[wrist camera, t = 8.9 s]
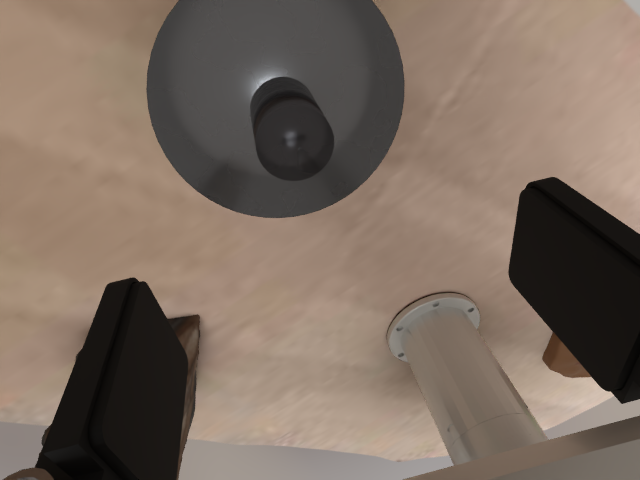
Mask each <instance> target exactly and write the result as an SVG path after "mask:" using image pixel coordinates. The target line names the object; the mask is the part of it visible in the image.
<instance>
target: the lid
mask: <svg viewBox="0 0 640 480" xmlns="http://www.w3.org/2000/svg"><path fill="white" fill-rule="evenodd" d="M147 100H148V109H149V114H150V118H151V123H152V126H153V129H154V132H155V134H156V137H157V140H158V142H159V144H160V146H161V148H162V150H163V152H164V153H165V155H166V157H167V158H168V160H169V161H170V163H171V164H172V166H173V167H174V168H175V170H176V171H177V172H178V173H179V174H180V175H181V176H182V177H183V179H184V180H185V181H186V182H187V183H188V184H190V185H191V186H192V187H193V188H194V189H195V190H197V191H198V192H199V193H201V194H202V195H204V196H205V197H207V198H208V199H209V200H211V201H213V202H215V203H217V204H219V205H221V206H223V207H225V208H228V209H230V210H233V211H236V212H239V213H243V214H247V215H251V216H257V217H265V218H285V217H295V216H300V215H305V214H309V213H312V212H315V211H318V210H321V209H323V208H326V207H328V206H330V205H333V204H334V203H336V202H338V201H340V200H341V199H343V198H345V197H346V196H348V195H349V194H350V193H352V192H353V191H354V190H356V189H357V188H358V187H359V186H360V185H361V184H363V183H364V182H365V181H366V180H367V179H368V178H369V177H370V175H371V174H372V173H373V172H374V171H375V170H376V169H377V167H378V166H379V164H380V163H381V161H382V160H383V159H384V157H385V155H386V154H387V152H388V150H389V148H390V146H391V144H392V142H393V140H394V137H395V135H396V132H397V130H398V126H399V122H400V119H401V115H402V109H403V102H404V74H403V65H402V60H401V56H400V52H399V48H398V45H397V43H396V40H395V37H394V35H393V32H392V30H391V29H390V27H389V25H388V23H387V21H386V19H385V17H384V16H383V14H382V13H381V12H380V10H379V9H378V8H377V6H376V5H375V4H374V2H373V1H372V0H179V1H178V2H177V4H176V5H175V6H174V8H173V9H172V10H171V12H170V13H169V14H168V16H167V18H166V19H165V21H164V23H163V25H162V27H161V29H160V31H159V33H158V35H157V38H156V40H155V43H154V46H153V49H152V52H151V56H150V61H149V66H148V73H147Z"/></svg>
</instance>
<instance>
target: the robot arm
mask: <svg viewBox="0 0 640 480" xmlns="http://www.w3.org/2000/svg"><path fill="white" fill-rule="evenodd" d="M509 278H510V280H511V283H512V284H513V285H514V287H515V288H516V289H517V290H518V291H519V292H520V294H521V295H522V296H523V297H524V298H525V299H526V301H527V302H528V303H529V304H530V305H531V306H532V308H533V309H534V310H535V311H536V312H537V313H538V315H539V316H540V317H541V318H542V319H543V320H544V322H545V323H546V324H547V325H548V326H549V328H550V329H551V330H552V331H553V332H554V333H555V335H556V336H557V337H558V338H559V339H560V340H561V342H562V343H563V344H564V345H565V346H566V347H567V349H568V350H569V351H570V352H571V353H572V354H573V356H574V357H575V358H576V359H577V360H578V361H579V363H580V364H581V365H582V366H583V367H584V368H585V370H586V371H587V372H588V373H589V374H590V375H591V377H592V378H593V379H594V380H595V381H596V382H597V384H598V385H599V386H600V387H601V388H602V389H604V390H605V391H611V392H612V393H613V394H614V396H615V397H616V398H617V399H618V400H619V401H620V402H621V403H622V404H623V403H627V402H630V401H634V400H638V399H640V234H638V233H637V232H636V231H634V230H633V229H631V228H630V227H628V226H627V225H625V224H624V223H622V222H621V221H619V220H618V219H617V218H615V217H614V216H612V215H611V214H609V213H608V212H606V211H605V210H603V209H602V208H600V207H599V206H597V205H596V204H595V203H593V202H592V201H590V200H589V199H587V198H586V197H584V196H583V195H581V194H580V193H578V192H577V191H575V190H574V189H573V188H571V187H570V186H568V185H567V184H565V183H564V182H562V181H561V180H559V179H558V178H555V177H550V178H546V179H542V180H537V181H533V182H530V183H528V184H527V186H526V188H525V190H523V191H522V192H521V193H520V197H519V204H518V211H517V217H516V224H515V231H514V237H513V244H512V251H511V257H510V264H509ZM479 323H480V313H479V310H478V308H477V307H476V305H475V304H474V302H473V301H472V300H471V299H469V298H468V297H466V296H464V295H460V294H456V293H442V294H436V295H431V296H428V297H425V298H423V299H420V300H418V301H416V302H414V303H413V304H411V305H410V306H408V307H407V308H405V309H404V310H403V311H402V312H401V313H400V314H398V316H397V317H396V318H395V319H394V320H393V322H392V324H391V325H390V327H389V330H388V333H387V342H388V346H389V348H390V350H391V352H392V354H393V355H394V356H395V357H396V358H398V359H399V360H402V361H404V362H408V363H409V365H410V367H411V369H412V372H413V374H414V376H415V378H416V381H417V383H418V385H419V387H420V390H421V392H422V394H423V397H424V399H425V401H426V403H427V406H428V408H429V410H430V412H431V415H432V417H433V419H434V422H435V424H436V426H437V428H438V431H439V433H440V435H441V437H442V440H443V442H444V444H445V446H446V449H447V451H448V453H449V456H450V458H451V460H452V462H453V464H454V466H451V467H447V468H444V469H440V470H436V471H433V472H429V473H425V474H422V475H418V476H414V477H411V478H407V479H403V480H640V416H637V417H633V418H629V419H625V420H622V421H618V422H614V423H611V424H607V425H603V426H599V427H596V428H592V429H588V430H584V431H581V432H577V433H574V434H570V435H566V436H562V437H558V438H554V439H551V440H549V439H548V438H547V436H546V435H545V433H544V432H543V430H542V428H541V427H540V425H539V424H538V422H537V421H536V419H535V418H534V416H533V415H532V413H531V412H530V410H529V409H528V407H527V405H526V404H525V402H524V401H523V399H522V398H521V396H520V395H519V393H518V392H517V390H516V389H515V387H514V386H513V384H512V383H511V381H510V379H509V378H508V376H507V375H506V373H505V372H504V370H503V369H502V367H501V366H500V364H499V363H498V361H497V360H496V358H495V357H494V355H493V353H492V352H491V350H490V349H489V347H488V346H487V344H486V343H485V341H484V340H483V338H482V337H481V335H480V334H479V332H478V331H477V329H478V327H479ZM187 375H188V357H187V354H186V352H185V350H184V348H183V346H182V344H181V343H180V341H179V339H178V337H177V336H176V334H175V332H174V330H173V328H172V327H171V325H170V323H169V321H168V320H167V318H166V316H165V314H164V313H163V311H162V309H161V307H160V305H159V304H158V302H157V300H156V298H155V297H154V295H153V293H152V291H151V290H150V288H149V286H148V285H147V283H146V282H144V281H142V282H139V281H138V280H137V279H136V278H129V279H124V280H120V281H116V282H112V283H109V284H107V286H106V288H105V291H104V293H103V296H102V299H101V301H100V304H99V306H98V309H97V312H96V314H95V317H94V320H93V322H92V325H91V328H90V330H89V333H88V336H87V338H86V341H85V343H84V346H83V349H82V350H81V351H80V353H79V355H78V357H77V360H76V362H75V365H74V367H73V370H72V373H71V375H70V378H69V381H68V383H67V386H66V388H65V391H64V394H63V396H62V399H61V401H60V404H59V407H58V409H57V412H56V414H55V417H54V420H53V422H52V425H51V428H50V430H49V433H48V435H47V438H46V441H45V443H44V446H43V448H42V451H41V454H40V456H39V459H38V462H37V464H36V467H34V468H29V469H23V470H20V471H18V472H16V473H13V474H11V475H9V476H7V477H6V478H4V479H3V480H177V471H178V461H179V452H180V442H181V433H182V423H183V413H184V404H185V394H186V385H187Z"/></svg>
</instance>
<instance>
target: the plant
mask: <svg viewBox="0 0 640 480" xmlns="http://www.w3.org/2000/svg"><path fill="white" fill-rule="evenodd" d="M542 359H543V361H544V362H545V364H546V365H547V366H548V368H549V369H550V370H553V371H555V372H558V373H560V374H562V375H563V376H565V377H572V378H575V377H591V375H590V374H589V373H588V372H587V371H586V370H585V368H584V367H583V366H582V365H581V364H580V363H579V361H578V360H577V359H576V358H575V357H574V356H573V354H572V353H571V352H570V351H569V350H568V349H567V347H566V346H565V345H564V344H563V343H562V342H561V340H560V339H559V338H558V337H557V336H556V335H555V333H554V332H553V334H552V336H551V339H550V341H549V344H548V346H547V348H546V350H545V352H544V355H543V358H542Z"/></svg>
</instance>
